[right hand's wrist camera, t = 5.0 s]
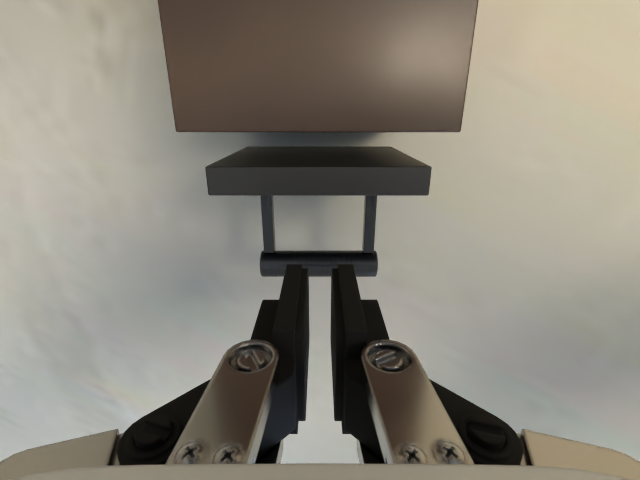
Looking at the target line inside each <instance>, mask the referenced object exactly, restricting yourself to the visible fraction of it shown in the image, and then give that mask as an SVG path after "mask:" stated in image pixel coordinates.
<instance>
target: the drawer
mask: <svg viewBox="0 0 640 480" xmlns="http://www.w3.org/2000/svg"><path fill="white" fill-rule="evenodd" d="M205 169H206V177H207V186H208V194H209V195H261V209H262V226H263V242H264V251H262V252H261V257H260V272H261V276H263V277H284V275H285V271H286V266H287V264H302V266H303V268H308V275H309V277H331V274H332V268H337V266H338V264H353V266H354V271H355V275H356V277H375V276H376V275H377V270H378V259H377V253H376V251H374V238H375V221H376V204H377V195H428V194H429V186H430V177H431V167H430V166H428V165H426V164H424V163H422V162H420V161H418V160H416V159H414V158H412V157H410V156H408V155H406V154H404V153H402V152H400V151H398V150H396V149H394V148H392V147H246V148H244V149H242V150H240V151H237V152H235V153H233V154H231V155H229V156H227V157H225V158H223V159H221V160H219V161H217V162H215V163H213V164H211V165H209V166H206V168H205ZM273 195H365V202H364V224H363V245H362V250H363V251H275V229H274V208H273Z"/></svg>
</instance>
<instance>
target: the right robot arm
mask: <svg viewBox="0 0 640 480" xmlns="http://www.w3.org/2000/svg"><path fill="white" fill-rule="evenodd" d="M308 356H309V275H308V268H303V266H302V264H287V266H286V271H285V275H284V280H283V284H282V289H281V294H280V298H279V300H263V301H262V304H261V307H260V310H259V314H258V317H257V320H256V323H255V327H254V330H253V333H252V337H251V340H248V341H243V342H240V343H238V344H236V345H234V346H232V347H231V348H230V349H228V350H227V352H226V353H225V354H224V356H223V358H222V360H221V361H220V363H219V365H218V367H217V369H216V371H215V373H214V374H213V376H212V378H211V379H210V380H208V381H206V382H205V383H203V384H201V385H199V386H198V387H196V388H194V389H192V390H190V391H189V392H187V393H185V394H183V395H181V396H180V397H178V398H176V399H174V400H173V401H171V402H169V403H167V404H165V405H164V406H162V407H160V408H158V409H156V410H155V411H153V412H151V413H149V414H147V415H146V416H144V417H142V418H141V419H139V420H138V421H136V422H135V423H133V424H132V425H131V426H130V427H129V428H128V429H127V430H126V431H125V432H124V433H123V434H119V431H118V429H115V430H111V431H106V432H102V433H98V434H93V435H89V436H84V437H80V438H76V439H71V440H67V441H62V442H58V443H54V444H49V445H45V446H40V447H36V448H32V449H28V450H25V451H22V452H19V453H16V454H14V455H12V456H10V457H8V458H6V459H5V460H3V461H1V462H0V480H640V462H639V461H637V460H635V459H634V458H632V457H630V456H628V455H626V454H624V453H621V452H618V451H615V450H612V449H608V448H604V447H600V446H595V445H591V444H586V443H582V442H578V441H573V440H569V439H564V438H560V437H556V436H551V435H547V434H542V433H538V432H534V431H529V430H525V429H522V431H521V434H517V433H516V432H515V431H514V430H513V429H512V428H511V427H510V426H509V425H508V424H507V423H505V422H504V421H502V420H501V419H499V418H498V417H496V416H494V415H493V414H491V413H489V412H487V411H485V410H484V409H482V408H480V407H478V406H476V405H475V404H473V403H471V402H469V401H467V400H466V399H464V398H462V397H460V396H459V395H457V394H455V393H453V392H451V391H450V390H448V389H446V388H444V387H442V386H441V385H439V384H437V383H435V382H434V381H432V380H430V379H429V378H428V376H427V374H426V373H425V371H424V369H423V367H422V365H421V363H420V361H419V360H418V358H417V356H416V354H415V353H414V352H413V350H412V349H410V348H409V347H408V346H406V345H404V344H402V343H400V342H397V341H392V340H389V337H388V333H387V330H386V327H385V323H384V320H383V317H382V314H381V310H380V307H379V304H378V301H377V300H361V298H360V294H359V289H358V284H357V280H356V275H355V271H354V266H353V264H338V266H337V268H332V274H331V356H332V377H333V399H334V419H335V421H342V433H343V434H351V435H353V436H354V437H355V438H356V439H357V452H358V457H359V462H360V464H280V462H281V457H282V452H283V439H284V438H285V437H286V436H287V435H289V434H297V433H298V421H305V419H306V399H307V377H308Z"/></svg>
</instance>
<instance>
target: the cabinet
mask: <svg viewBox="0 0 640 480" xmlns="http://www.w3.org/2000/svg"><path fill="white" fill-rule="evenodd" d="M158 5H159V12H160V19H161V26H162V33H163V41H164V48H165V55H166V62H167V69H168V77H169V84H170V91H171V98H172V106H173V113H174V120H175V127H176V131H177V132H460V131H461V124H462V117H463V109H464V102H465V95H466V87H467V80H468V73H469V65H470V58H471V51H472V43H473V36H474V28H475V21H476V14H477V6H478V0H158Z"/></svg>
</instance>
